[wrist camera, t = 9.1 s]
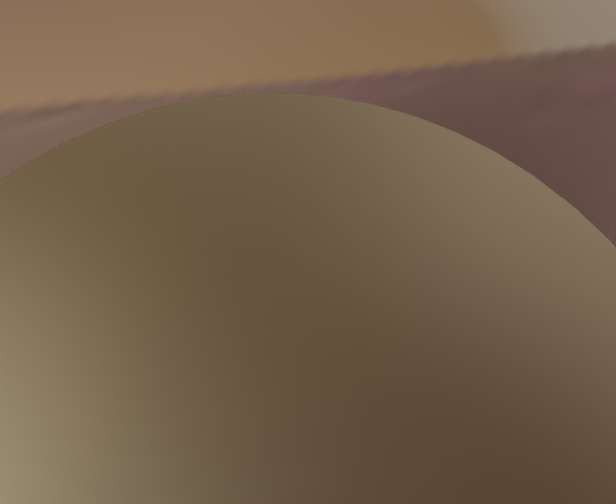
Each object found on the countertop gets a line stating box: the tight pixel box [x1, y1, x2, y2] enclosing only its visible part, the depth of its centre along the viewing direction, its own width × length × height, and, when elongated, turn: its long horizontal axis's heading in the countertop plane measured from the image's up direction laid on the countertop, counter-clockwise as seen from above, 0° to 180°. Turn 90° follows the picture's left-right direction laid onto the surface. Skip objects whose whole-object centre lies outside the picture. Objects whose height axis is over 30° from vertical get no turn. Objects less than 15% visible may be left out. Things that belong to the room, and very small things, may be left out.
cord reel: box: [0, 93, 616, 504], centre depth 9 cm, size 6×6×13 cm
